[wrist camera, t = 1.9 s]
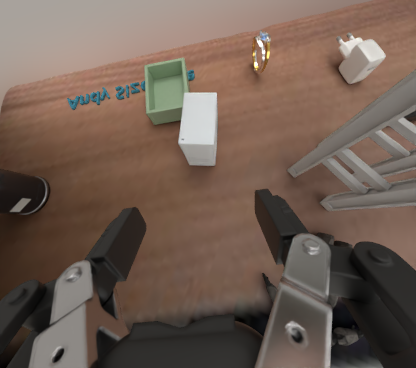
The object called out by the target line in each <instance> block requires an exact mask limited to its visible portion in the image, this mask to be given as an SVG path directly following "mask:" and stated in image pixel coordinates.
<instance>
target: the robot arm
mask: <svg viewBox="0 0 416 368" xmlns="http://www.w3.org/2000/svg"><path fill="white" fill-rule="evenodd" d="M48 196H49V185H48V183H47V181H46V180H45V179H43V178H41V177H37V176H30V175H26V174H21V173H17V172H13V171H8V170H4V169H0V214H23V215H28V214H32V213H35V212H37V211H38V210H39V209H41V208H42V207H43V205H44V204H45V203H46V201H47V199H48ZM255 214H256V217H257V220H258V222H259V225H260V227H261V229H262V232H263V234H264V236H265V239H266V241H267V243H268V246H269V248H270V251H271V253H272V255H273V258H274V260H275V262H276V265H277V264H283V265H284V267H285V268H284V271H283V275H282V278H281V280H280V283H279V286H278V289H277V293H276V296H275V300H274V303H273V307H272V310H271V313H270V317H269V320H268V324H267V327H266V331H265V334H264V337H263V336H261V335H260V334H259V333H258V332H257V331H255V330H254V329H253V328H251V327H249V326H248V325H245V324H243V323H241V322H237V321H235V319H234V314H228V315H217V316H208V317H206V318H203V319H201V320H199V321H197V322H194V323H192V324H190V325H188V326H185V327H183V328H179V327H176V326H172V325H169V324H165V323H162V322H158V321H154V322H143V323H133V326H132V329H131V333H129V330H128V328H127V327H126V325H125V323H124V321H123V317H122V312H121V308H120V303H119V299H118V294H117V290H116V288H115V285H116V282H120V281H126V279H127V276H128V274H129V271H130V269H131V266H132V264H133V261H134V259H135V257H136V254H137V252H138V249H139V247H140V244H141V242H142V240H143V237H144V235H145V232H146V223H145V221H144V219H143V217H142V215H141V214H140V212H139V210H138V208H136V207H133V208H126V209H123V210H122V212H121V213H120V215H119V216H118V217H117V218H116V219H114V220H113V221H112V222H111V223H110V224H109V226H108V227H107V228H106V230H105V232H104V233H103V234H102V235H101V237H100V238H99V240H98V241H97V243H96V244H95V245H94V247H93V248H92V250H91V251H90V252H89V254H88V255H87V257H86V258H85V260H83V261H79V262H77V263H75V264H73V265H71V266H70V267H69V268H67V269H66V270H65V271H64V272H63V273H62V274H61V275H60V277H59V278H58V279H55V280H53V281H50V282H48V283H46V284H42V283H40V282H39V281H37V280H29V281H27V282H24V283H22V284H21V285H19V286H17V287H16V288H15V289H13V290H12V291H11V292H9V293H8V294H7V295H6V296H5V297H4V298H3V299H2V300H1V301H0V355H1V354H2V352H3V351H4V350H5V348H6V347H7V345H8V344H9V343H10V341H11V340H12V339H13V337H14V336H15V335H16V333H17V332H18V330H19V329H20V328H21V326H23V327H25V328H28V329H30V330H32V331H31V332H30V334H29V335H28V337H27V338H26V340H25V341H24V343H23V344H22V346H21V347H20V349H19V350H18V352H17V353H16V354H15V356H14V357H13V359H12V360H11V362H10V363H9V365H8V366H7V368H330V353H331V330H332V306H331V304H330V303H329V301H328V294H331V295H335V296H339V297H341V298H342V300H343V302H344V303H345V305H346V307H347V308H348V310H349V312H350V313H351V315H352V316H353V318H354V320H355V321H356V323H357V325H358V326H359V328H360V330H361V331H362V333H363V335H364V336H365V338H366V339H367V341H368V343H369V344H370V346H371V348H372V349H373V351H374V353H375V354H376V356H377V357H378V359H379V361H380V362H381V364H382V366H383V367H384V368H416V271H415V270H414V269H413V268H412V267H411V266H410V265H409V264H408V263H407V262H405V261H404V260H403V259H402V258H401V257H400V256H399V255H397V254H396V253H395V252H393V251H392V250H390V249H389V248H387V247H385V246H382V245H380V244H377V243H373V242H359V243H357V244H356V245H355V246H354V248H346V247H339V246H333V245H329V244H327V243H326V242H325V241H323V240H322V239H321V238H319V237H317V236H315V235H312V234H310V233H309V232H308V231H307V229H306V228H305V227H304V225H303V224H302V223H301V221H300V220H299V218H298V217H297V216H296V214H295V213H294V212H293V210H292V209H291V208H290V207H289V205H288V204H287V202H286V201H285V200H284V199H282V198H281V197H279V196H278V195H276V196H272V194H271V193H270V191H269V190H268V189H262V190H256V191H255Z"/></svg>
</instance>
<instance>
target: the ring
mask: <svg viewBox="0 0 416 368" xmlns="http://www.w3.org/2000/svg"><path fill="white" fill-rule="evenodd" d="M261 33H262V34H261ZM270 40H271V36H270V35H269V34H268V33H266V31H265V32H262V30H260V33H259V35H258V36H256V37H254V38H253V44H252V57H253V66H254V71H255V72H256V73H262V72H263V71H264V69H265V67H266V65H267V62H268V58H269V53H270ZM257 45H259V47H260V49H261V52H262V62H261V66H260V69H258V65H257V60H256V51H257ZM263 45H265V48H266V55H265V50H264V46H263Z"/></svg>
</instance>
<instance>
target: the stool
mask: <svg viewBox="0 0 416 368" xmlns="http://www.w3.org/2000/svg"><path fill="white" fill-rule="evenodd" d="M415 110H416V69H415V70H414V71H413V72H411V73H410V74H409V75H407V76H406V77H405V78H404V79H402V80H401V81H400V82H398V83H397V84H396V85H394V86H393V87H392V88H390V89H389V90H388V91H387V92H385V93H384V94H383V95H381V96H380V97H379V98H377V99H376V100H375V101H374V102H372V103H371V104H370V105H368V106H367V107H366V108H364V109H363V110H362V111H360V112H359V113H358V114H357V115H355V116H354V117H353V118H351V119H350V120H349V121H347V122H346V123H345V124H343V125H342V126H341V127H340V128H338V129H337V130H336V131H334V132H333V133H332V134H330V135H329V136H328V137H326V138H325V139H324V140H323V141H321V142H320V143H319V144H318V145H317V146H318V147H317V148H315V149H314V150H313V151H311V152H310V153H309V154H307V155H306V156H304V157H303V158H302V159H300V160H299V161H298V162H296V163H295V164H294V165H293V166H291V167H290V168H289V169H288V170H287V171H288V172H289V173H290V174H291V175H292V176H293V177H296V176H298V175H300V174H302V173H303V172H305V171H307V170H309V169H311V168H312V167H314V166H316V165H318V164H320V163H322V164H323V165H325V166H326V167H327V168H328V169H329V170H330V171H331V172H332V173H333V174H334V175H336V176H337V177H338V178H339V179H340V180H341V181H342V182H343V183H344V184H345V185H347V186H348V187H349V188H350V189H351V190H352V191H348V192H343V193H339V194H334V195H329V196H327V197H326V198H324V199H323V200H322V201H321V202H320V204H321V205H322V206H323V207H324V208H325V209H326V210H327V211H338V210H354V209H370V208H386V207H402V206H416V178H411V179H406V180H401V181H396V182H392V183H388V182H387V181H386V180H385V179H384V178H383V177H387V176H391V175H395V174H399V173H403V172H407V171H411V170H415V169H416V149H413V150H410V151H407V150H406V149H405V148H403V147H402V146H401V145H399V144H398V143H397V142H395V141H394V140H393V139H391V138H390V137H389V136H388V135H386V134H385V133H384V132H382V131H381V129H383V128H385V127H386V126H390V127H391V128H392V129H394V130H395V131H396V132H398V133H399V134H400V135H402V136H403V137H404V138H406V139H407V140H408V141H410V142H411V143H412V144H414V145H415V146H416V126H415V125H413V124H412V123H410V122H409V121H408V120H406V119H405V118H403V117H405V116H406V115H408V114H410V113H412V112H414V111H415ZM367 137H369V138H371V139H372V140H373V141H374V142H376V143H377V144H378V145H379V146H381V147H382V148H383V149H384V150H386V151H387V152H388V153H389V154H391V155H392V156H393V157H391V158H388V159H385V160H382V161H379V162H377V163H374V164H371V165H367V164H366V163H365V162H363V161H362V160H361V159H360V158H359V157H357V156H356V155H355V154H354V153H353V152H351V151H350V150H349V149H348V148H349V147H350V146H352V145H354V144H356V143H358V142H359V141H361V140H363V139H365V138H367ZM334 155H336V156H337V157H338V158H339V159H340V160H342V161H343V162H344V163H345V164H346V165H347V166H348V167H350V168H351V169H352V170H353V171H354V173H353V174H352V175H351V174H350V173H349V172H348V171H347V170H346V169H344V168H343V167H342V166H341V165H340V164H339V163H338V162H336V161H335V160H334V159H333V158H332V156H334ZM363 182H367V183H368V184H369V185H370V186H371V187H367V188H366V187H365V186H364V185H363V184H361V183H363Z"/></svg>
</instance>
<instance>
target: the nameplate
mask: <svg viewBox="0 0 416 368" xmlns="http://www.w3.org/2000/svg"><path fill="white" fill-rule="evenodd" d="M187 73H188V80H193V79H194V71H193V70H190V71H188V72H187ZM191 73H193V74H191ZM130 85H131V87H133V88H134V89H135V90H132V91H131V93H132V94H133V93H137V92H140V91H139V89H137V88H136V87H135V86H138V85H139V83H138V82H137V83H132V84H130ZM102 88H103V93H102V95H101V98H100V93H99V92H98V91H97V93H94V92H93V93H91V95H90V98H91V100H92V101H93V102H97V104H98V105H100V99H101V100H104V98H105V95H107V97H108V98H109V99H110V97H109V95H108V93H107V91H106V89H105V88H104V87H102ZM141 88H142V90H145V81H143V82H142V83H141ZM120 89H121V90H120ZM116 90H117V91H118V90H120V91H119V92H118V93H117V94H116V97H117V98H118V99H124V96H123V95H122V96H120V95H121V94H122V93H124V89H123V87H121V86H118V87H116ZM126 93H127V94H126V96H127V97H129V95H128V94H129V86H128V85H126ZM95 95H97V98H95V99H93V98H94V97H95ZM119 96H120V97H119ZM67 99H68V102H69V104H70V106H71V108H72V109H73V110H75V108H76V106H77V104H78V101H79V99H80V104H81V105H83V103H85V104H88V103H89V94H86V101H84V97H83V96H82V95H80V97H79V96H76V98H75V100H70V99H69V98H67ZM72 103H73V104H72Z"/></svg>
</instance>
